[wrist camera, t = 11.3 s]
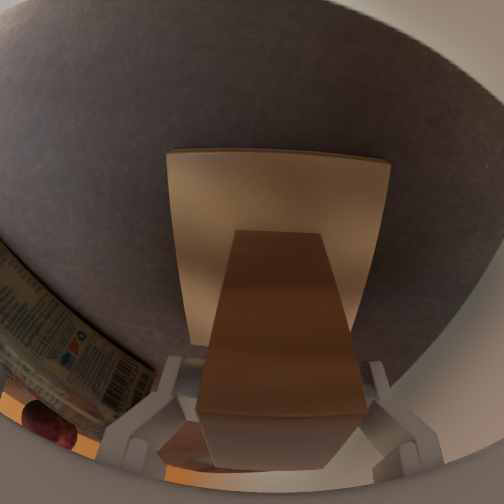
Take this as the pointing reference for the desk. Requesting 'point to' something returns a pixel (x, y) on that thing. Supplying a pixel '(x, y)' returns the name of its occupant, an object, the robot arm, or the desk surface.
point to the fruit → (49, 424)
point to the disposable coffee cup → (2, 380)
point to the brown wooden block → (279, 359)
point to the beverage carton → (63, 354)
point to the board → (271, 215)
